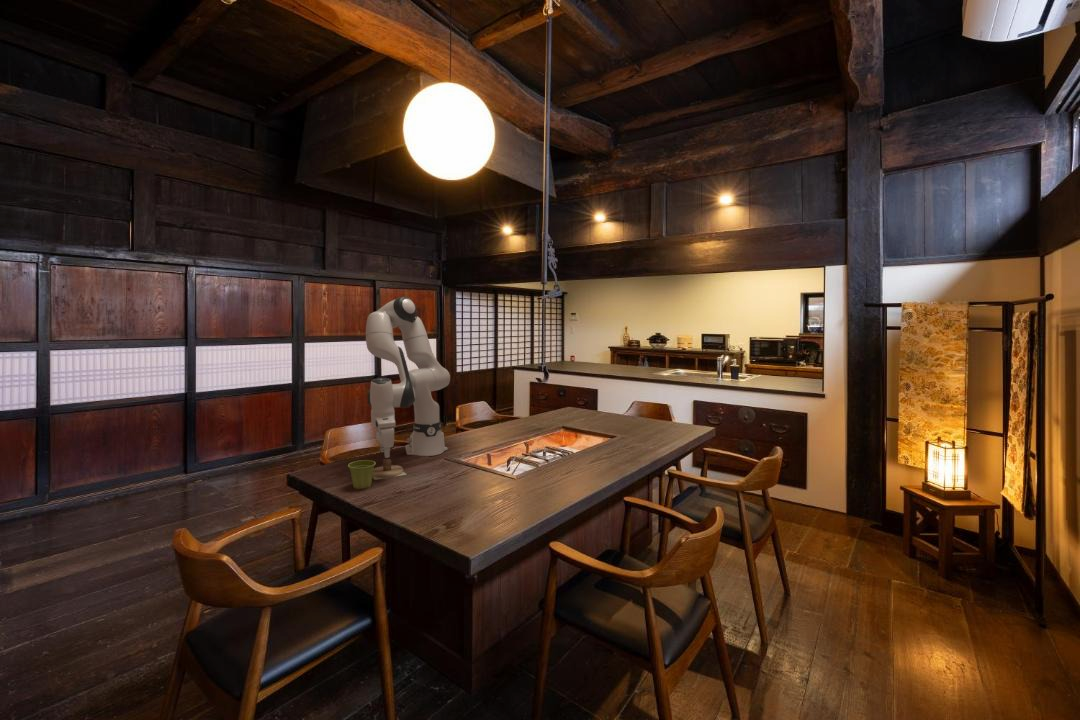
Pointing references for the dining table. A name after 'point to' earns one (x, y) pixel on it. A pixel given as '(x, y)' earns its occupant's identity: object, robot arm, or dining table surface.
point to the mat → (389, 477)
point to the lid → (387, 470)
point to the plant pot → (362, 473)
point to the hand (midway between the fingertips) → (385, 454)
